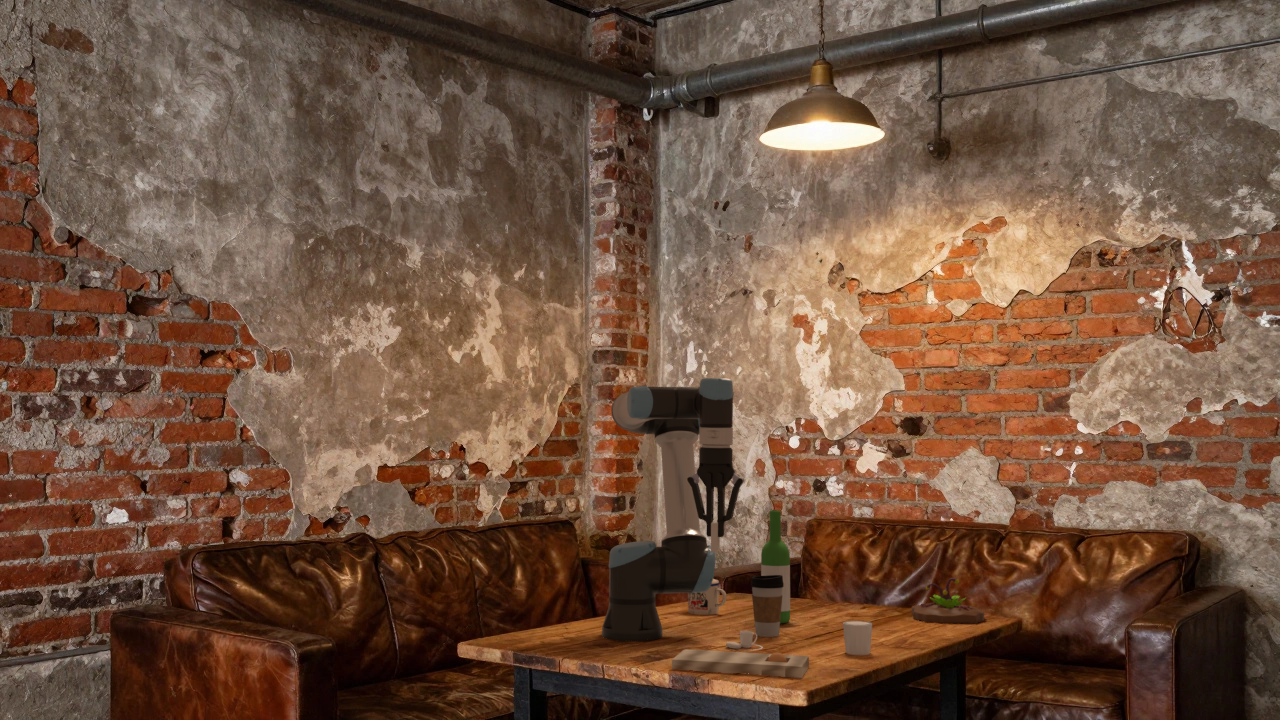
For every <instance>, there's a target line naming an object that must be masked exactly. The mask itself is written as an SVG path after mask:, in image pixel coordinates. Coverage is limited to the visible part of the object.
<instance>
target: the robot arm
mask: <svg viewBox="0 0 1280 720" xmlns="http://www.w3.org/2000/svg"><path fill="white" fill-rule="evenodd" d="M733 386H734V385H733V380H731V378H724V377H723V378H719V377H718V378H715V377H713V378H712V377H711V378H708V377H706V378H705V377H704V378H701V379H700V382H699V386H647V385H639V386H632V387H630V388H629V390H628V391H627V392H623V393H621V394H620V395H618V396H617V397H616V398H615V399H614V400H613V403H612V406H611V410H610V411H611V417H612V421H614V423H615V424H616V425H617V426H618V427H619V428H621V429H623V430H625V431H628V432H629V433H633V434H638V435H654V442H655V443H656V444H657V445H658V446H659V447H660V448H661V449H660V452H661V454H660V455H661V468H662V482H663V483H662V484H663V495H664V496H663V498H664V499H663V500H664V511H665V512H664V513H665V515H664V516H665V526H666V527H665V529H666V534H665V535H664V537H663V538H662V539H661V546H657V544H656V542H655V540H644V541H642V540H640V541H639V540H638V541H633V542H625V543H621V544H618V545H615V546H614V547H612V548H611V549H610V552H609V560H608V561H609V562H608V566H607V567H608V568H609V569H608V571H609V578H608V579H609V581H608V584H609V585H608V590H609V591H608V608H607V611H606V614H605V618H604V620H603V623H602V627H601V637H602V638H603V637H604V639H605V638H607V639H606V640H609V639H611V640H610V641H616V640H618V641H617V642H646V641H647V642H648V641H649V642H650V641H655V640H658V639H661V638H663V627H662V626H663V625H662V622H661V619H660V616H659V613H658V610H657V606H656V595H657V594H688V593H690V594H692V593H697V592H705V591H707V590H708V589H709V588H710V586H711V584H712V581H713V579H714V576H715V572H716V571H715V569H716V553H718V552H720V550H721V547H720V544H721V543H720V540H721V538H723V537H724V536H725V524H726V523H725V522H727V521H730V520H732V519H733V518H734V517H733V516H734V513H735V510H736V509H735V508H736V505H737V500H738V496H739V492H740V490H741V487H742V485H743V484H744V482H745V479H744V477H740V476H739V475H737V474H736V471H735V469H734V466H733V463H734V462H733V447H731V446H732V445H733V444H734V442H733V441H734V439H733V438H734V437H733V436H734V431H733V429H734V428H733V426H734V425H733V423H734V421H733V418H734V417H733V416H734V395H735V394H734V393H735V392H734V389H733V388H734V387H733ZM697 441H699V442H698V443H699V445H701V446H700V448H699V451H698V454H699V455H698V456H699V457H698V459H699V461H698V467H697V469H696V464H695V452H694V444H695V443H697ZM700 480H701V482H702V483H703V484H704V486H705V491H706V492H705V494H706V496H705V498H706V500H705V501H706V502H705V503H706V504H705V505H704V502H703V501H704V500H703V498H702V497H703V496H702V493H701V489H700V485H699V483H700ZM731 480H732V484H733V485H732V486H733V487H732V488H731V489H732V490H731V493H730V497H729V502H728V506H727V510H726V507H725V506H726V486H727V485H728V484H729V483H730V482H731ZM715 488H716V489H717V490H716V492H717V520H716V521H714V520H715V518H714V513H715V512H714V507H715V506H714V505H715V503H714V500H715V499H714V498H715V497H714V496H715V494H714V493H715ZM704 507H706V508H704ZM700 520H702V521H705V522H706V536H705V535H704V534H703V533H702V532H701V528H700ZM707 537H709V538H710V545H708V543H707V542H708V540H707Z"/></svg>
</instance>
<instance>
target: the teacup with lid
mask: <svg viewBox="0 0 1280 720" xmlns="http://www.w3.org/2000/svg"><path fill="white" fill-rule="evenodd" d="M719 585H720V581H719V580H718V579H715V578H713V581H712V584H711V586H710V588H709V589H708V590H707V591H705V592H697V593H692V594H690V593H687V599H688V602H687V609H688V610H687V611H688V612H687V613H689V614H691V615H700V616H701V615H702V616H703V615H704V616H706V615H707V616H708V615H709V616H711V615H716V614H719V607H722V606H723V605H725V603H726V600H727V593H726V591H725V590H724V589H722V588H719ZM719 593H721V594H722V600H721V602H720V603H719V600H720V599H719V597H720V596H719Z"/></svg>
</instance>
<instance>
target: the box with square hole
mask: <svg viewBox="0 0 1280 720" xmlns="http://www.w3.org/2000/svg"><path fill="white" fill-rule="evenodd" d="M772 654H773V653H763V652H762V653H761V652H759V653H758V652H745V651H744V652H740V651H725V650H724V651H723V650H722V651H721V650H720V651H719V650H703V649H687V648H685V649H683V650H682V651H681V652H679V653H678V654H677V655H676V656H675V657H673V658H672V659H671V670H674V669H681V670H680V671H689V670H693V671H694V672H704V671H705V672H706V673H718V672H721V674H722V673H723V674H733V673H741V674H740V675H743V674H742V673H746V674H745V675H748V673H749V674H761V675H760V676H763V675H770V676H769V677H778V676H781V677H782V678H793V677H794V678H795V679H803V677H804V676H803V675H805V674H806V672H807V670H808V669H809V667H810V656H809V655H800V654H799V655H798V654H797V655H795V654H783V655H784V656H785V658H786V660H787V663H786V662H768V659H769V657H770V656H771V655H772ZM693 671H692V672H693ZM705 672H704V673H705ZM781 677H780V678H781Z"/></svg>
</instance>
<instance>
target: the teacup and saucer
mask: <svg viewBox="0 0 1280 720" xmlns="http://www.w3.org/2000/svg"><path fill="white" fill-rule="evenodd" d="M754 635H755V638H754ZM753 639H754V641H753ZM757 639H758V636H757V634H756V632H754V631H751V630H740V631H739V640H740V643H739V642H735V641H727V642H725V643H726V647H727V648H729V649H732V650H733V649H735V650H741V648H744V649H746V648H747V649H749V648H751V647H753V646H758V647H760V648H756V649H754V651H757V650H762V649H764V647H763V645H760V644H756V642H757Z"/></svg>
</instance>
